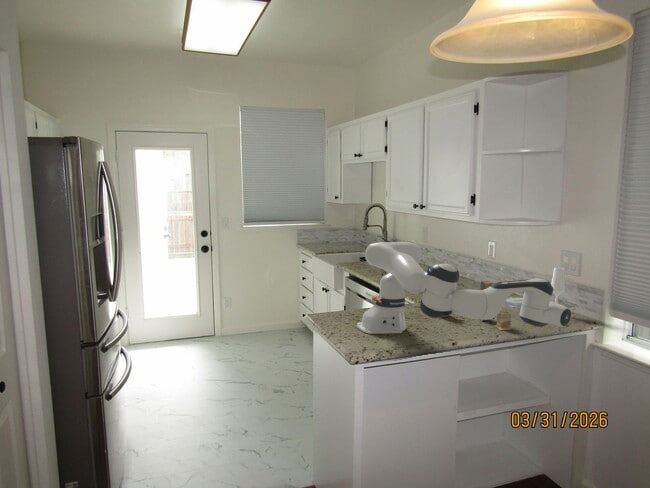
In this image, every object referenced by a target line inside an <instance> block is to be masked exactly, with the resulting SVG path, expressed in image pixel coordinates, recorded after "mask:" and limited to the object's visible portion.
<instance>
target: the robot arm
mask: <svg viewBox="0 0 650 488" xmlns="http://www.w3.org/2000/svg"><path fill="white" fill-rule="evenodd" d="M422 253H423V252H422V248H421V247H420V246H419V245H418V244H417V243H413V242H409V241H392V242H391V241H390V242H389V241H388V242H386V241H385V242H383V241H381V242H374V243H370V244H368V246H367V247H366V249H365V252H364V256H365V260H366V263H368V265H369V266H372V267H376V268H378V269H382V270H383V271H385V272H387V273H386V274H384V275H383V276H382V277H381V278H380V280H379V281H380V282H379V295H378V297H376V296H373V295H372V297H371V300H372V301H373V302H375V304H374V305H372V306H371V307H370V308H369V309H367V310H366V311H365V312H363V314H362V318H361V321H358V322H357V324H356V327H357V329H358V330H359V331H360V332H363V333H366V334H369V335H375V334H376V335H379V334H402V333H403V332H404V331H405V330H406V329H407V324H406V319H405V318H406V317H405V307H406V297H405V291H407V292H408V293H410V294H414V295H416V294H421V293H423V294H422V298H421V299H420V305H419V306H420V310H421V312H422V313H423V314H424V315H425V316H427V317H429V318H434V319H441V318H445V317H444V316H447V317H449V316H450V315H452V313H454V314H455V315H457V316H460V317H463V318H468V319H472V320H482V321H485V320H492V319H494V318H495V317H497V315H498V314H499V313H500V312H502V309H506V310H508V311H509V310H510V311H514V312H515V311H516V312H519V318H520V319H521V320H522V321H523V322H524V323H526V324H528V325H531V326H534V327H538V328H542V327H545V326H548V325H549V324H550V325H553V326H557V327H566V326H568V324H569V323H570V322H571V321H570V320H571V318H572V311H571V310H570V308H568V307H567V306H565V305H563V304H561V303H556V302H555V301H553V298H552V295H553V290H554V289H553V287H552V285H551V282H550V281H549V280H547V279H544V278H539V277H536V278H535V277H534V278H529V279H519V280H509V281H508V280H506V281H499V282H493V284H492V285H491V286H490V287H489V288H487V289H484V290H480V289H466V288H465V289H458V290H456V289H457V285H458V283H459V279H460V271H459V270H458V268H456V267H455V266H453V265H451V264H449V263H444V262H439V263H435V264H433V265H432V266H428V267H427V268H426V269H425V270H426V271H425V270H424V269H423V268H422V267H421V266H420V264H419V263H420V261H421V259H422V255H423V254H422ZM522 292H523V295H522V297H517V296H511V295H512V294H514V293H522ZM448 315H449V316H448Z"/></svg>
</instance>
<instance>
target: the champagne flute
mask: <svg viewBox="0 0 650 488" xmlns="http://www.w3.org/2000/svg"><path fill="white" fill-rule="evenodd" d="M565 270H566V269H565V268H564V267H560V266H559V267H554V268H553V272H552V273H553V274H552V278H551V282H550V284H551V285H552V287H553V289H554V290H553V293H552V295H555V297H554V298H555V299H554V302H556V303H558V301H559V296H561V295H562V294H564V292H565V291H566V282H565V281H566V280H565V279H566V278H565V277H566V275H565V273H566V272H565Z"/></svg>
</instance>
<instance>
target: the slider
mask: <svg viewBox="0 0 650 488" xmlns="http://www.w3.org/2000/svg"><path fill="white" fill-rule="evenodd" d="M493 283H494V281H489V280H486V281H485V280H484V281H482V280H481V281H480V289H479V290H484V289H487V288H489V287H490V286H491V285H492V284H493Z"/></svg>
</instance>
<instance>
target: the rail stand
mask: <svg viewBox="0 0 650 488" xmlns="http://www.w3.org/2000/svg"><path fill="white" fill-rule="evenodd" d="M511 317H512V313H511V312H509V311H500V313H499V314H498V315H497V316H496V318H497V319H496V324H495V325H493V326H492V327H493V328H494V329H497V330H498V331H508V330H509V331H511V330H514V327H513V326H512V325H511V321H512V320H511V319H512V318H511Z"/></svg>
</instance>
